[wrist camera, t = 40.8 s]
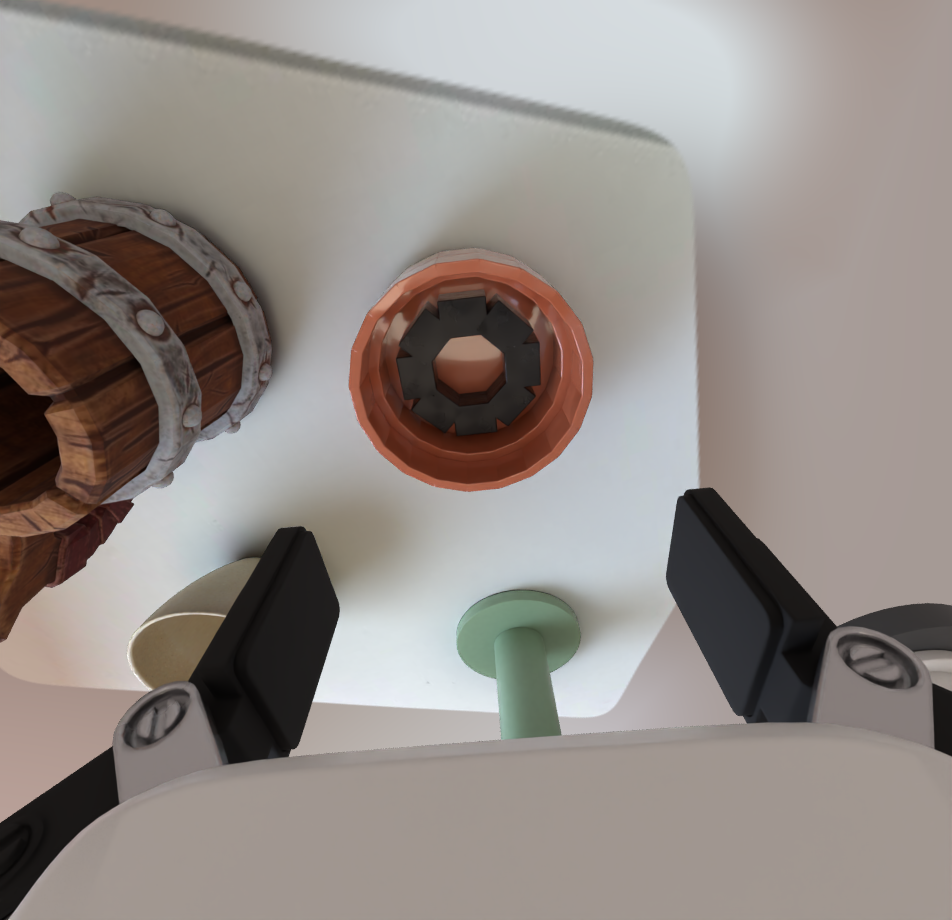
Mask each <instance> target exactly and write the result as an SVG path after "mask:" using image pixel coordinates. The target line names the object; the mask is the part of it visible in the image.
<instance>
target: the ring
mask: <svg viewBox="0 0 952 920" xmlns="http://www.w3.org/2000/svg"><path fill="white" fill-rule="evenodd" d="M437 305H438V309H437V308H436V307H435V306H434V305H432V304H431V303H430V302H429V301H427V302H426V304H425V305H424V306H423V308H422V309H421V311H420V312H419V313H418V315H417V316H416V317H415V319H414V320H413V322H412V323H411V324H410V326H409V327H408V329H407V330H406V331H405V333H404V334H403V335H402V338H401V340H400V343H399V345H398V346H399V347H400V349H399V352H398V354H397V357H396V363H397V368H398V373H399V378H400V383H401V388H402V393H403V398H404V400H412V399H414V400H413V404H412V408H411V410H412V411H413V412H414V413H416V414H417V415H419V416H420V417H422V418H423V419H425V420H426V421H427V422H429V423H430V424H432V425H433V426H435V427H436V428H438V429H439V430H441V431H442V432H443V433H446V432H447V431H448V430H449V429H450V428H451V426H452V425H453V424H455V431H456V436H465V435H474V434H484V433H493V432H497V431H498V429H497V419H498V420H499V421H501V422H502V423H504V424H505V425H506V426H509V425H510V424H511V423H512V422H513V421H514V420H515V419H516V418H517V417H518V415H519V414H520V413H521V412H522V411H523V410H524V409H525V408H526V407H527V406H528V405H529V404H530V403H531V401H532V400H533V399H534V398H535V397H536V395H535V392H534V390H533V387H532V386H539V385H541V372H540V343H539V341H538V339H537V337H536V335H535V333H532V332H533V331H534V330H533V328H532V326H531V324H530V323H529V321H528V320H527V319H526V318H524V317H523V316H522V315H521V314H520V313H519V312H518V311H516V310H515V309H514V308H513V307H512V306H511V305H509V304H508V303H507V302H506V301H505V300H504V299H503V298H501V297H500V296H499V295H498V294H495V295H494V296H493V297H492V299H491V300H490V301H489V302H488V304H486V296H485V292H484V290H483V289H481V290H472V291H464V292H455V293H447V294H439V296H438V301H437ZM476 335H482V336H483V337H484V338H485V339H487V340H488V341H489V342H490V343H491V344H493V345H494V346H495V347H496V348H498V349H499V350H500V351H501V352H502V362H503V372H502V373H501V374H500V375H499V377H498V378H497V379H496V380H495V381H494V382H493V383H492V385H491V386H490V387H489V388H488V389H487V390H486V391H481V392H472V393H463V394H459V393H458V392H456V391H455V390H454V389H452V388H451V387H450V386H448V385H447V384H445V383H444V382H443V381H441V380H440V379H439V378H438V373H437V367H436V361H435V358H436V356H437V355H438V354H439V353H440V351H441V350H442V349H443V347H444V346H445V345H446V344H447V342H448V341H449V340H450V338H458V337H467V336H476Z"/></svg>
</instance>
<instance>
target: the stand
mask: <svg viewBox="0 0 952 920" xmlns="http://www.w3.org/2000/svg"><path fill="white" fill-rule="evenodd" d="M580 638H581V634H580V628H579V625H578V621H577V618H576V616H575V614H574V612H573V611H572V609H571V608H570V607H569V606H568V605H567V604H566V603H564V602H563V601H562V600H560V599H558V598H556V597H554V596H552V595H549V594H546V593H542V592H538V591H530V590H516V591H508V592H503V593H499V594H495V595H492V596H489V597H487V598H485V599H483V600H481V601H480V602H478V603H476V604H475V605H474V606H472V607H471V608H470V609H469V610H468V611H467V612H466V613H465V614H464V616H463V617H462V618H461V620H460V622H459V625H458V628H457V650H458V653H459V655H460V657H461V659H462V660H463V661H464V663H465V664H466V665H467V666H468V667H470V668H471V669H473V670H474V671H476V672H478V673H479V674H482V675H484V676H487V677H491V678H495V679H497V690H498V703H499V714H500V715H499V716H500V729H501V740H505V739H519V738H533V737H546V736H560V735H561V729H560V724H559V720H558V714H557V708H556V703H555V698H554V693H553V687H552V682H551V677H550V673H551V672H553V671H555V670H557V669H558V668H560V667H561V666H563V665H564V664H565V663H567V662H568V661H569V660H570V659H571V658H572V657H573V655H574V654H575V653H576V651H577V649H578V647H579V644H580Z"/></svg>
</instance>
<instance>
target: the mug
mask: <svg viewBox="0 0 952 920" xmlns="http://www.w3.org/2000/svg"><path fill="white" fill-rule="evenodd" d="M50 202H51V206H49V207H45V208H41V209H37V210H33V211H30V212H29V213H28V214H27V215H26V216H25V217H24V218H23V219H22V220H21V221H20V222H19V223H13V222H6V221H0V642H2V641H4V640H6V639H7V637H8V635H9V633H10V631H11V629H12V627H13V625H14V623H15V621H16V619H17V617H18V615H19V613H20V611H21V609H22V607H23V606H24V605H25V604H26V603H28V602H29V601H30V600H31V599H32V598H33V597H34V596H35V595H36V594H37V593H38V592H39V591H40V590H41V589H43V588H44V587H50V588H53V587H55V586H57V585H59V584H61V583H63V582H64V581H66V580H67V579H68V578H70V577H71V576H73V575H74V574H75V573H77V572H78V571H80V570H81V569H82V568H84V567H85V566H86V563H87V559H88V558H90V557H91V556H92V555H93V554H94V552H95V551H96V549H97V548H98V546H99V545H101V544H104V543H105V542H106V540H107V539H108V537H109V536H110V534H111V533H112V531H113V530H114V528H115V526H116V525H117V523H121V522H122V521H123V519H124V518H125V517H126V515H127V514H128V512H129V511H130V510H131V508H132V507H133V505H134V503H132V502H131V501H132V500H133V498H134V497H136V496H137V495H139V494H140V493H142V492H144V491H145V490H147V489H148V488H150V487H151V486H152V487H155V488H164V487H167V486H168V485H170V484H171V483H172V481H173V478H174V475H173V472H172V471H174V470H175V469H176V468H177V467H179V466H180V465H181V464H183V463H184V462H185V460H186V458H187V456H188V454H189V452H190V451H191V449H192V447H193V445H194V443H195V442H199V441H204V440H209V439H213V438H215V437H216V436H217V435H219V434H220V433H222V432H223V431H225V432H227V433H235V432H237V431H238V430H239V429H240V420H241V419H243V418H244V417H245V416H247V415H248V414H249V413H251V412H252V411H253V409H254V407H255V406H256V404H257V402H258V400H259V399H260V397H261V395H262V394H263V392H264V390H265V389H266V387H267V385H268V381H269V378H271V376H272V369H271V367H270V362H271V353H272V347H271V337H270V334H269V330H268V326H267V322H266V318H265V315H264V311H262V309H261V307H260V305H259V304H258V302H257V298H258V297H257V296H256V294H255V293H254V291H253V289H252V288H251V286H250V285H249V283H248V281H247V280H246V278H245V277H244V275H243V273H242V272H241V270H240V269H239V267H238V266H236V265H235V264H234V263H233V262H232V261H231V260H230V259H229V258H228V257H227V256H226V255H225V254H223V253H222V252H221V251H220V250H219V249H218V248H217V247H216V246H215V245H214V244H213V243H212V242H210V241H209V240H208V239H207V238H206V237H205V236H203V235H201V234H200V233H198V232H197V231H196V230H195V229H193V228H191V227H189V226H187V225H185V224H183V223H181V222H179V221H177V220H175V219H174V217H173V216H172V215H171V214H170V213H169V212H167V211H165V210H162V209H154V208H152V207H150V206H148V205H145V204H139V203H132V202H126V201H120V200H114V199H108V198H101V197H92V198H86V199H79V200H76V199H75V198H74V197H73V196H71V195H69V194H67V193H61V192H59V193H55V194H53V195H52V197H51V199H50Z"/></svg>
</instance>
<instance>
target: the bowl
mask: <svg viewBox="0 0 952 920" xmlns="http://www.w3.org/2000/svg"><path fill="white" fill-rule="evenodd" d="M481 289H483V290H484V292H485V296H486V304H488V302H489V301H490V300H491V299H492V297H493V296H494V295H495V294H498V295H499V296H500V297H501V298H503V299H504V300H505V301H506V302H507V303H508V304H509V305H511V306H512V307H513V308H514V309H515V310H516V311H518V312H519V313H520V314H521V315H522V316H523V317H524V318H526V319H527V320H528V321H529V323H530V324H531V326H532V328H533V330H534V331H533V332H532V333H535V335H536V337H537V339H538V341H539V343H540V372H541V385H539V386H532V387H533V390H534V392H535V395H536V397H535V398H534V399H533V400H532V401H531V403H530V404H529V405H528V406H527V407H526V408H525V409H524V410H523V411H522V412H521V413H520V414H519V415H518V417H517V418H516V419H515V420H514V421H513V422H512V423H511V424H510V425H509V426H506V425H505V424H504V423H502V422H501V421H499V420H498V419H497V429H498V431H497V432H493V433H484V434H474V435H465V436H456V431H455V424H453V425H452V426H451V428H450V429H449V430H448V431H447V432H446V433H443V432H442V431H441V430H439V429H438V428H436V427H435V426H433V425H432V424H430V423H429V422H427V421H426V420H425V419H423V418H422V417H420V416H419V415H417V414H416V413H414V412H413V411H412V410H411V408H412V404H413V400H414V399H412V400H404V398H403V393H402V388H401V383H400V378H399V373H398V368H397V363H396V357H397V354H398V352H399V349H400V347H399V346H398V345H399V343H400V340H401V338H402V335H403V334H404V333H405V331H406V330H407V329H408V327H409V326H410V324H411V323H412V322H413V320H414V319H415V317H416V316H417V315H418V313H419V312H420V311H421V309H422V308H423V306H424V305H425V304H426V302H427V301H429V302H430V303H431V304H432V305H434V306H435V307H436V308H437V309H438V305H437V301H438V296H439V294H447V293H455V292H464V291H472V290H481ZM435 361H436V367H437V373H438V378H439V379H440V380H441V381H443V382H444V383H445V384H447V385H448V386H450V387H451V388H452V389H454V390H455V391H456V392H458V393H459V394H463V393H472V392H481V391H486V390H487V389H488V388H489V387H490V386H491V385H492V383H493V382H494V381H495V380H496V379H497V378H498V377H499V375H500V374H501V373H502V372H503V362H502V352H501V351H500V350H499V349H498V348H496V347H495V346H494V345H493V344H491V343H490V342H489V341H488V340H487V339H485V338H484V337H483V336H482V335H476V336H467V337H458V338H450V340H449V341H448V342H447V344H446V345H445V346H444V347H443V349H442V350H441V351H440V353H439V354H438V355H437V356H436V358H435ZM592 386H593V357H592V353H591V350H590V347H589V344H588V341H587V338H586V334H585V331H584V328H583V325H582V323H581V321H580V320H579V318H578V317H577V316H576V315H575V313H574V312H573V311H572V309H571V308H570V307H569V305H568V304H567V303H566V301H565V300H564V299H563V297H562V296H561V295H560V294H559V292H558V291H557V290H556V289H555V288H554V287H553V286H551V285H550V284H549V283H548V282H547V281H546V280H545V279H544V278H543V277H542V276H541V275H540V274H539V273H537V272H535V271H534V270H532V269H531V268H529V267H528V266H526V265H525V264H523V263H522V262H520V261H518V260H517V259H515V258H514V257H512V256H510V255H506V254H502V253H498V252H493V251H489V250H485V249H480V248H476V249H475V248H466V249H458V250H450V251H441V252H438V253H436V254H434V255H432V256H430V257H428V258H426V259H424V260H422V261H420V262H418V263H416V264H414V265H412V266H410V267H408V268H407V269H406V270H405V271H404V272H403V273H402V274H401V275H400V276H399V277H398V278H397V279H396V280H395V281H394V282H393V283H392V284H391V285H390V286H389V287H388V288H387V290H386V291H385V292H384V293H383V294H382V295H381V297H380V298H379V299H378V300H377V302H376V303H375V304H374V305H373V307H372V308H371V309H370V310H369V312H368V313H367V315H366V317H365V319H364V321H363V324H362V326H361V328H360V330H359V333H358V335H357V337H356V340H355V342H354V344H353V346H352V350H351V360H350V374H349V390H350V394H351V398H352V401H353V405H354V409H355V412H356V416H357V420H358V421H359V424H360V426H361V427H362V429H363V430H364V432H365V433H366V435H367V436H368V438H369V439H370V441H371V442H372V444H373V445H374V447H375V449H376V450H378V452H379V453H380V454H381V455H382V456H384V457H385V458H386V459H387V460H388V461H390V462H391V463H392V464H393V465H394V466H396V467H397V468H398V469H399V470H400V471H402V472H404V473H405V474H407V475H409V476H411V477H413V478H416V479H418V480H420V481H422V482H425V483H427V484H429V485H431V486H435V487H439V488H446V489H452V490H458V491H465V492H471V491H480V490H490V489H499V488H503V487H505V486H508V485H510V484H513V483H516V482H518V481H521V480H524V479H526V478H529V477H531V476H533V475H534V474H536V473H537V472H538V471H540V470H541V469H542V468H544V467H545V466H547V465H548V464H549V463H551V462H552V461H553V460H555V459H556V458H557V457H558V456H560V454H561V453H562V452H563V450H564V449H565V448H566V447H567V445H568V444H569V443H570V441H571V440H572V439H573V437H574V436H575V435H576V434H577V432H578V431H579V429H580V427H581V425H582V422H583V419H584V417H585V414H586V411H587V408H588V406H589V403H590V400H591V398H592Z"/></svg>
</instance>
